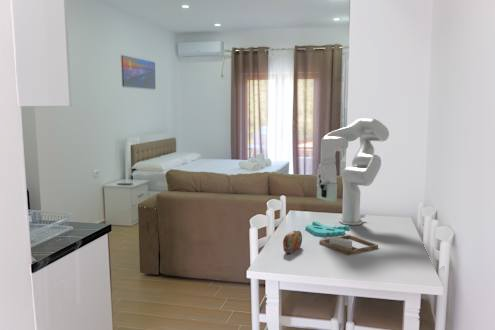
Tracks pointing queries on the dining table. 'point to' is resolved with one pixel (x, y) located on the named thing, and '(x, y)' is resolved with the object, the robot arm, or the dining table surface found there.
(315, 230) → the alien figure
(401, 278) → the dining table surface
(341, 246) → the pine offcut
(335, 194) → the sage panel
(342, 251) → the rack
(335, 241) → the grey offcut
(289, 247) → the tin
